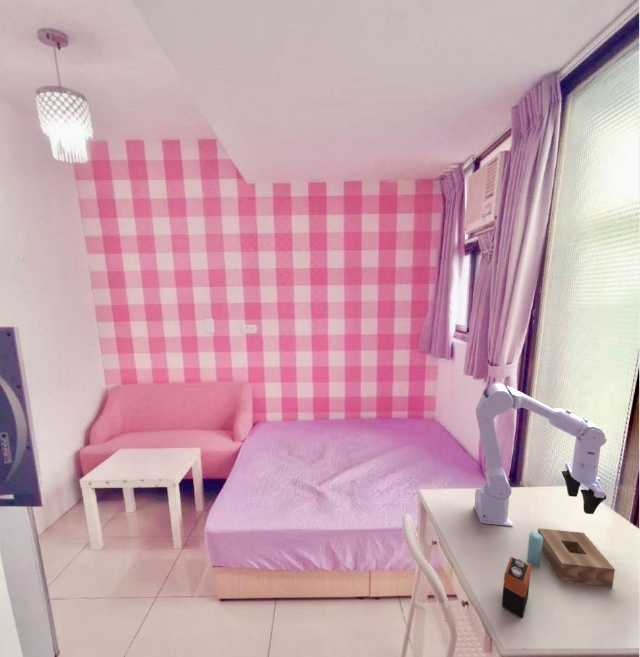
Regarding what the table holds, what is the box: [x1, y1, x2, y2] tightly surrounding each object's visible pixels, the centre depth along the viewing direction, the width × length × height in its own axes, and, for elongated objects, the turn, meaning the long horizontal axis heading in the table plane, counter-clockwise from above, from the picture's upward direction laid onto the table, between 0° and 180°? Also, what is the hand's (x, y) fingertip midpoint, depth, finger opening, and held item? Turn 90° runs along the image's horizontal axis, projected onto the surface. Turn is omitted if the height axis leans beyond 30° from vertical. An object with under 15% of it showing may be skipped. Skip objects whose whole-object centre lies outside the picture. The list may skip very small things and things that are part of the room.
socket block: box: [537, 527, 616, 588], centre depth 88 cm, size 12×12×5 cm
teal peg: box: [526, 531, 543, 568], centre depth 88 cm, size 3×3×8 cm
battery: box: [501, 556, 532, 619], centre depth 77 cm, size 4×7×10 cm, turn 138°
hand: (580, 504), depth 97 cm, fingers open, 7 cm apart
